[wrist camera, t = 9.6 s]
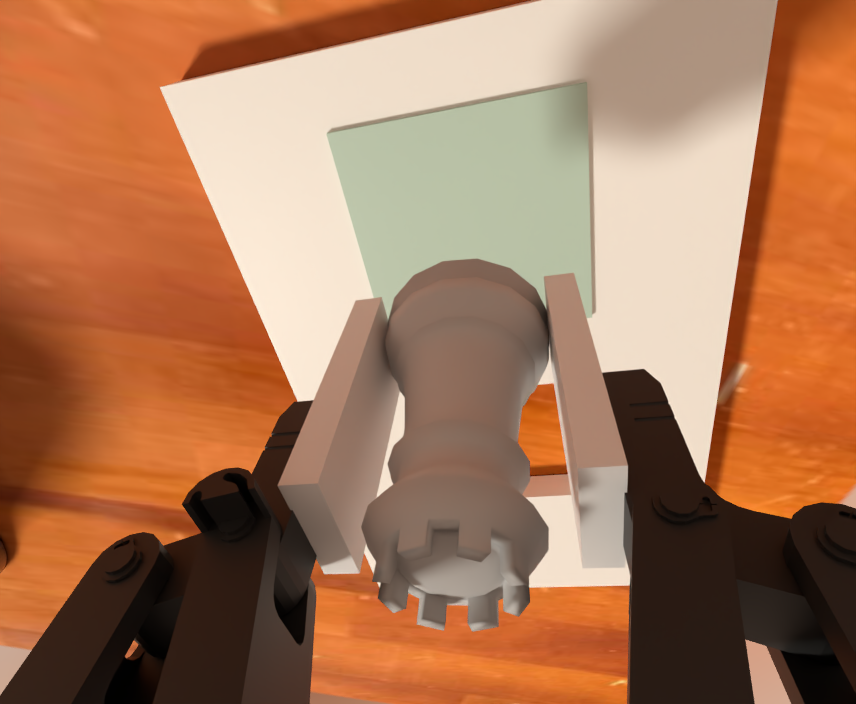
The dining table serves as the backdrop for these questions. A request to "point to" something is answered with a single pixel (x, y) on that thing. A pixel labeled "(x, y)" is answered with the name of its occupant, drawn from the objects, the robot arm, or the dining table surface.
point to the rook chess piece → (461, 445)
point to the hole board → (502, 186)
